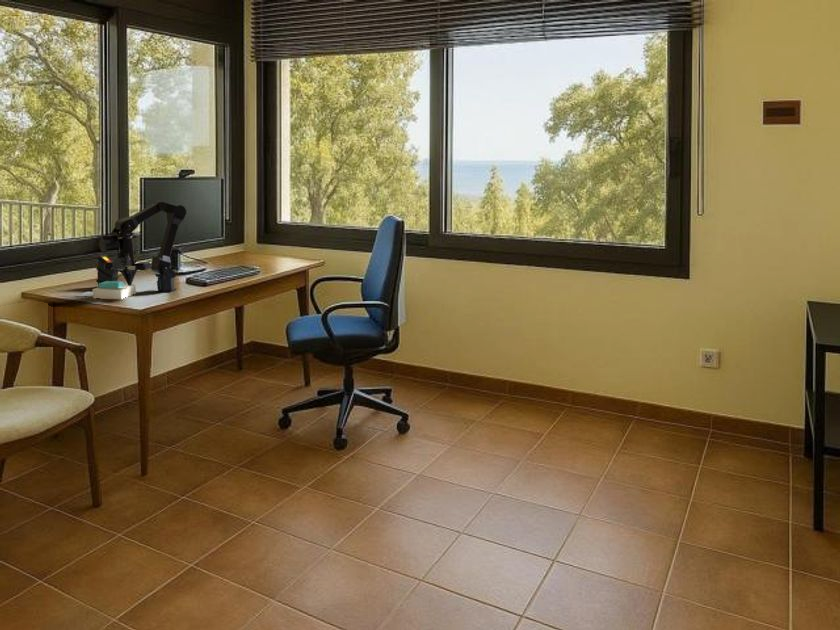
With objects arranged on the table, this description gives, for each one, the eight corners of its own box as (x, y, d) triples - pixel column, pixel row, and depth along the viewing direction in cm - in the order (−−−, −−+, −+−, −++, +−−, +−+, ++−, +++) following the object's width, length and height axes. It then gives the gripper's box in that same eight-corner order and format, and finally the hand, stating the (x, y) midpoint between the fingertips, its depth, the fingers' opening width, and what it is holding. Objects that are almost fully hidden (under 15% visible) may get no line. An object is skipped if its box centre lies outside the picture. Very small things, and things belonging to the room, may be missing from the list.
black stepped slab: (99, 282, 346) (105, 254, 339) (117, 296, 341) (123, 268, 335) (92, 283, 343) (98, 255, 336) (110, 298, 338) (116, 270, 332)
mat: (107, 292, 329) (107, 292, 329) (96, 297, 321) (96, 296, 321) (87, 292, 331) (87, 291, 331) (74, 296, 322) (74, 295, 322)
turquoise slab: (123, 286, 324) (123, 281, 324) (116, 288, 318) (115, 284, 318) (106, 285, 325) (106, 281, 325) (98, 288, 319) (98, 283, 319)
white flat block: (136, 293, 328) (135, 284, 327) (121, 299, 316) (120, 290, 315) (109, 292, 330) (108, 283, 329) (93, 298, 318) (92, 289, 317)
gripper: (95, 251, 310) (99, 288, 314) (136, 252, 307) (140, 289, 311) (110, 247, 321) (113, 283, 325) (150, 248, 318) (153, 284, 322)
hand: (129, 285), depth 320 cm, fingers closed
